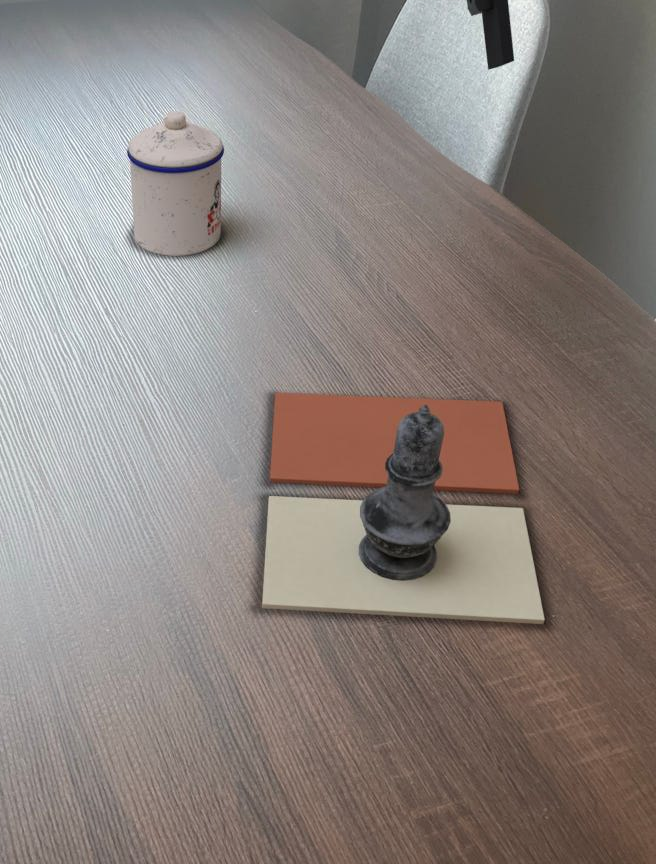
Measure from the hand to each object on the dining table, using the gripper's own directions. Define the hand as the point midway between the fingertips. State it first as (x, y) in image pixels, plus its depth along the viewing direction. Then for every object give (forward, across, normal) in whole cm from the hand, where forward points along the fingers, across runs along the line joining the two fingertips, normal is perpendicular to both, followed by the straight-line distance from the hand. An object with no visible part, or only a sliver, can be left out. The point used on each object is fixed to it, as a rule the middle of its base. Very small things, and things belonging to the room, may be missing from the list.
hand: (599, 39), depth 69 cm
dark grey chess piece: (+28, +22, +10) cm, 37 cm away
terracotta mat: (+24, +18, -1) cm, 30 cm away
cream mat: (+28, +22, +10) cm, 37 cm away
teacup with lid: (+6, +28, -35) cm, 45 cm away
